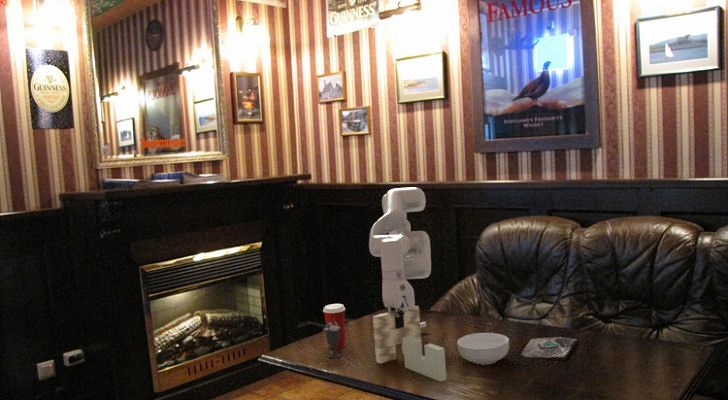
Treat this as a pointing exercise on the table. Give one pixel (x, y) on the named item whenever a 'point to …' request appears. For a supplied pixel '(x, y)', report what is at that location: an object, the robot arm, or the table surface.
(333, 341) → the sundae
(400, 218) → the robot arm
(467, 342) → the cereal bowl
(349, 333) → the table surface
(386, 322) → the maple plate
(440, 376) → the sage board
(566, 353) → the terrain model
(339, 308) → the coffee cup
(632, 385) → the table surface
